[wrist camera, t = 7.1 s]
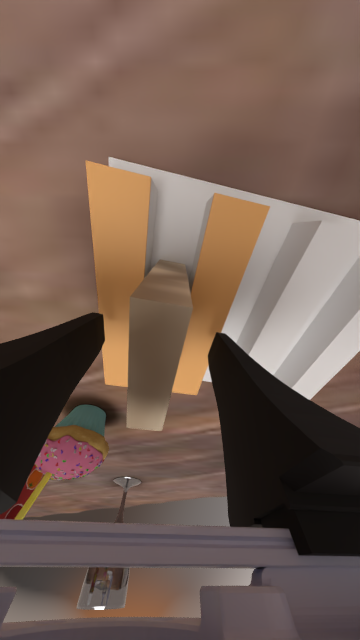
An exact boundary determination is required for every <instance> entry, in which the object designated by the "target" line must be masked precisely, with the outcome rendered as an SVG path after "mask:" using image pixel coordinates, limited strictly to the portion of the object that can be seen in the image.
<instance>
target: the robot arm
mask: <svg viewBox="0 0 360 640" xmlns="http://www.w3.org/2000/svg"><path fill="white" fill-rule="evenodd" d="M104 342H105V331H104V318H103V314H99V313H89V314H86V315H84V316H81V317H78V318H76V319H73V320H71V321H68V322H66V323H63V324H60V325H58V326H55V327H52V328H49V329H46V330H44V331H41V332H38V333H35V334H32V335H29V336H26V337H22V338H19V339H15V340H12V341H8V342H5V343H1V344H0V514H2V513H4V512H6V511H7V510H8V509H10V508H11V507H12V506H13V505H14V504H16V503H17V501H18V499H19V496H20V494H21V492H22V490H23V487H24V485H25V483H26V481H27V479H28V477H29V475H30V472H31V470H32V468H33V466H34V464H35V462H36V460H37V458H38V456H39V454H40V452H41V450H42V448H43V446H44V444H45V442H46V440H47V438H48V436H49V434H50V432H51V430H52V428H53V426H54V424H55V422H56V421H57V419H58V417H59V415H60V413H61V411H62V409H63V408H64V406H65V404H66V402H67V400H68V399H69V397H70V395H71V394H72V392H73V390H74V389H75V387H76V386H77V384H78V383H79V381H80V380H81V379H82V377H83V376H84V374H85V373H86V371H87V370H88V369H89V367H90V366H91V364H92V363H93V361H94V360H95V358H96V357H97V355H98V354H99V352H100V350H101V348H102V346H103V344H104ZM208 365H209V372H210V376H211V380H212V384H213V389H214V393H215V397H216V401H217V406H218V411H219V418H220V425H221V433H222V442H223V451H224V462H225V472H226V486H227V500H228V517H229V523H230V527H224V526H194V525H192V526H191V525H164V524H134V523H133V524H132V523H104V522H74V521H73V522H72V521H44V520H15V519H0V567H132V568H134V567H136V568H139V567H143V568H145V567H146V568H256V569H254V571H253V573H252V580H251V584H250V585H249V586H202V587H201V589H200V603H201V618H177V617H176V618H175V617H102V618H77V619H60V620H43V621H26V622H10V623H3V620H4V618H5V616H6V614H7V611H8V609H9V607H10V605H11V603H12V601H13V598H14V596H15V594H16V587H0V640H360V428H358V427H356V426H355V425H353V424H351V423H349V422H347V421H345V420H343V419H341V418H339V417H338V416H336V415H334V414H332V413H331V412H329V411H327V410H325V409H324V408H322V407H320V406H319V405H317V404H315V403H314V402H312V401H310V400H309V399H307V398H305V397H304V396H302V395H301V394H299V393H298V392H296V391H295V390H293V389H292V388H290V387H289V386H287V385H286V384H284V383H283V382H282V381H280V380H279V379H277V378H276V377H275V376H273V375H272V374H271V373H269V372H268V371H267V370H266V369H264V368H263V367H262V366H261V365H260V364H258V363H257V362H256V361H255V360H254V359H253V358H251V357H250V356H249V355H248V354H247V353H246V352H245V351H244V350H243V349H242V348H241V347H240V346H238V345H237V344H236V343H235V342H234V341H233V340H232V339H231V338H230V337H229V336H228V335H226V334H225V333H219V332H216V334H215V337H214V339H213V342H212V345H211V347H210V350H209V353H208Z"/></svg>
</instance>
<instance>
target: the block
mask: <svg viewBox="0 0 360 640" xmlns="http://www.w3.org/2000/svg"><path fill="white" fill-rule="evenodd" d="M192 310H193V304H192V299H191V293H190V288H189V282H188V277H187V272H186V266H185V264H181V263H176V262H171V261H166V260H161V259H160V260H159V261H158V262H157V263H156V265H155V266H154V267H153V268H152V270H151V271H150V272H149V273H148V275H147V276H146V277H145V278H144V280H143V281H142V282H141V283H140V285H139V286H138V287H137V289H136V290H135V291H134V292H133V294H132V295H131V296H130V310H129V350H128V390H127V428H133V429H144V430H155V431H162V428H163V424H164V420H165V416H166V412H167V408H168V404H169V400H170V396H171V392H172V388H173V385H174V381H175V377H176V373H177V369H178V365H179V361H180V357H181V353H182V349H183V345H184V341H185V338H186V334H187V330H188V326H189V322H190V318H191V314H192Z"/></svg>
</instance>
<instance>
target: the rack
mask: <svg viewBox="0 0 360 640" xmlns="http://www.w3.org/2000/svg"><path fill="white" fill-rule="evenodd" d="M86 170H87V182H88V193H89V205H90V216H91V227H92V239H93V250H94V261H95V273H96V284H97V296H98V307H99V314H103V318H104V331H105V342H104V344H103V346H102V353H103V364H104V375H105V384H107V385H115V386H124V387H128V350H129V310H130V296H131V295H132V294H133V292H134V291H135V290H136V289H137V287H138V286H139V285H140V283H141V282H142V281H143V280H144V278H145V277H146V276H147V275H148V273H149V272H150V271H151V270H152V268H153V267H154V266H155V265H156V263H157V262H158V261H159V260H160V259H161V260H166V261H171V262H176V263H181V264H185V266H186V272H187V277H188V282H189V288H190V293H191V299H192V304H193V310H192V314H191V318H190V322H189V326H188V330H187V334H186V338H185V341H184V345H183V349H182V353H181V357H180V361H179V365H178V369H177V373H176V377H175V381H174V385H173V388H172V392H175V393H184V394H192V395H197V393H198V390H199V388H200V385H201V383H202V381H208V382H212V380H211V376H210V372H209V365H208V353H209V350H210V347H211V345H212V342H213V339H214V337H215V334H216V332H219V333H225V334H226V335H228V336H229V337H230V338H231V339H232V340H233V341H234V342H235V343H236V344H237V345H238V346H240V347H241V348H242V349H243V350H244V351H245V352H246V353H247V354H248V355H249V356H250V357H251V358H253V359H254V360H255V361H256V362H257V363H258V364H260V365H261V366H262V367H263V368H264V369H266V370H267V371H268V372H269V373H271V374H272V375H273V376H275V377H276V378H277V379H279V380H280V381H282V382H283V383H284V384H286V385H287V386H289V387H290V388H292V389H293V390H295V391H296V392H298V393H299V394H301V395H302V396H304V397H305V398H307V399H309V400H310V399H311V398H312V397H313V396H314V395H315V394H316V393H317V392H318V391H319V390H320V389H321V388H322V387H323V386H324V385H325V384H326V383H327V382H328V381H329V380H330V379H331V378H332V377H334V376H335V375H336V374H337V373H338V372H339V371H340V370H341V369H342V368H343V367H344V366H345V365H346V364H347V363H348V362H349V361H350V360H351V359H352V358H353V357H354V356H355V355H356V354H357V353H358V352H359V351H360V221H359V220H355V219H351V218H347V217H343V216H340V215H336V214H332V213H328V212H324V211H320V210H316V209H312V208H308V207H304V206H300V205H296V204H292V203H288V202H284V201H281V200H277V199H273V198H269V197H265V196H261V195H257V194H253V193H249V192H245V191H241V190H237V189H233V188H229V187H226V186H222V185H218V184H214V183H210V182H206V181H202V180H198V179H194V178H190V177H186V176H182V175H178V174H174V173H171V172H167V171H163V170H159V169H155V168H151V167H147V166H143V165H139V164H135V163H131V162H127V161H123V160H119V159H115V158H112V157H109V166H106V165H102V164H98V163H94V162H90V161H86Z"/></svg>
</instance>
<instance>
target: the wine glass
mask: <svg viewBox="0 0 360 640" xmlns="http://www.w3.org/2000/svg"><path fill="white" fill-rule="evenodd" d="M113 482H114V483H115V484H117V485H120V486H122V487H123V488H124V493H123V498H122V502H121V506H120V509H119V513H118V515H117V518H116V520H115V522H114V523H123V513H124V505H125V499H126V494H127V490H128V489H129V488H130V487H134V486H138V485H140V484H141V481H140V480H139V479H136V478H132V477H119V478H116V479H114V480H113ZM128 578H129V567H89V568H88V571H87V574H86V577H85V580H84V583H83V587H82V590H81V594H80V597H79V601H78V604H77V609H117V608H124V607H125V601H126V594H127V587H128Z"/></svg>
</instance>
